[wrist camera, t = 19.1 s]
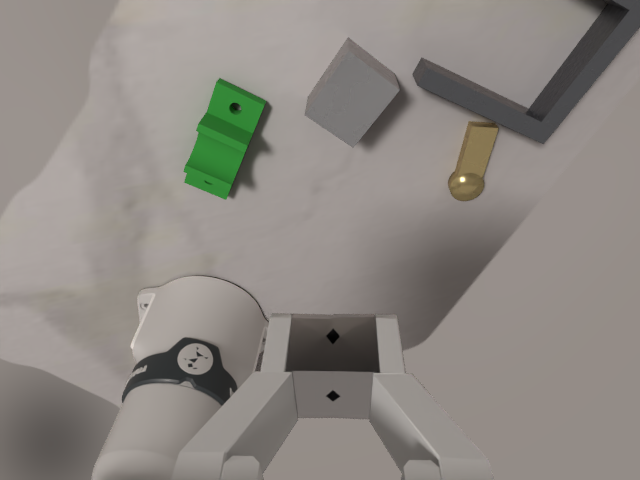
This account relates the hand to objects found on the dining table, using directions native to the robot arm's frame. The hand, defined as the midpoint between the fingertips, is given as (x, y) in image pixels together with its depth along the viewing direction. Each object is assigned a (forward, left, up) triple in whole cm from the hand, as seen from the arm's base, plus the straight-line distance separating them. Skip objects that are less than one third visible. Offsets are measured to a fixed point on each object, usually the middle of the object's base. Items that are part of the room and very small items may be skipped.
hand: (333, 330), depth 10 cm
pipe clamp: (-14, +11, -28) cm, 33 cm away
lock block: (-3, -2, -31) cm, 31 cm away
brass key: (-4, -16, -31) cm, 35 cm away
